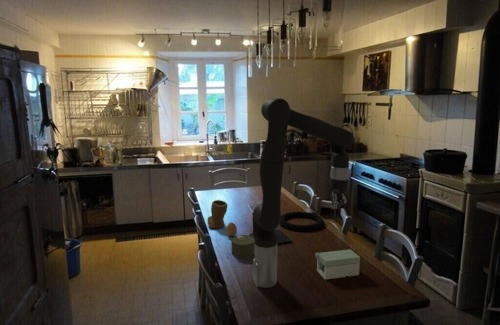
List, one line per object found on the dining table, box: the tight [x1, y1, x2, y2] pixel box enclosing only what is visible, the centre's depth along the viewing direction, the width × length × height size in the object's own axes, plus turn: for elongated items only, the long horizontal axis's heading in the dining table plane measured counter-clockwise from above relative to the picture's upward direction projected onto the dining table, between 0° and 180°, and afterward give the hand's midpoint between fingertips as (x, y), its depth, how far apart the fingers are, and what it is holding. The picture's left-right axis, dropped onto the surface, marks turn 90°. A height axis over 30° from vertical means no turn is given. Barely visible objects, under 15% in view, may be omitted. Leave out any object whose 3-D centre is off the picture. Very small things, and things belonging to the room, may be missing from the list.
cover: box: [314, 248, 361, 267], centre depth 154 cm, size 17×9×2 cm, turn 104°
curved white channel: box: [316, 259, 361, 280], centre depth 154 cm, size 16×8×6 cm, turn 104°
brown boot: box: [207, 199, 228, 229], centre depth 211 cm, size 15×12×15 cm
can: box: [230, 234, 255, 259], centre depth 174 cm, size 12×12×7 cm
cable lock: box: [279, 211, 325, 232], centre depth 216 cm, size 28×4×30 cm
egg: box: [225, 221, 238, 237], centre depth 194 cm, size 6×6×8 cm
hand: (337, 216), depth 151 cm, fingers closed
